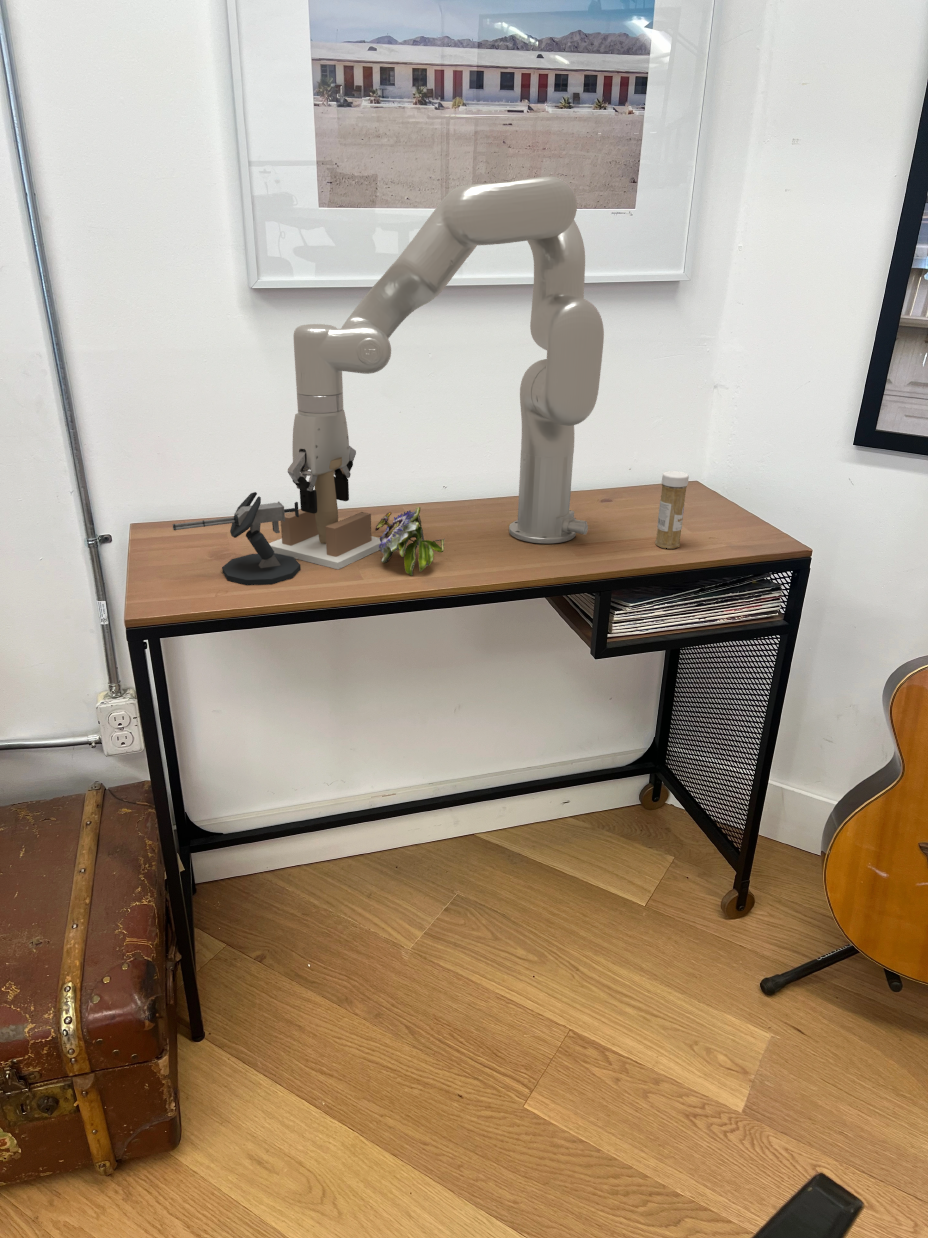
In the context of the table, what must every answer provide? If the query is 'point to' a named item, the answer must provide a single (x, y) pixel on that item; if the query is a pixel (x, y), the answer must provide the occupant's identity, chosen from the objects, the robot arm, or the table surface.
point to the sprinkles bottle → (671, 509)
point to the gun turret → (255, 543)
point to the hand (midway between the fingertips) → (325, 505)
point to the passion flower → (401, 534)
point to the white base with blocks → (342, 540)
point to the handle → (326, 500)
